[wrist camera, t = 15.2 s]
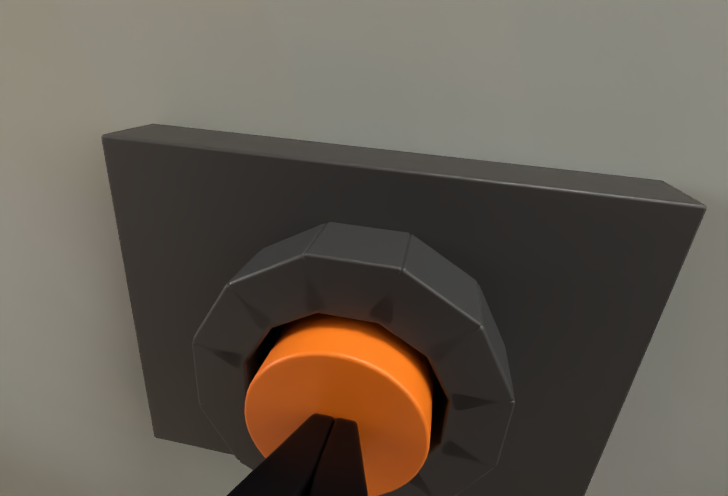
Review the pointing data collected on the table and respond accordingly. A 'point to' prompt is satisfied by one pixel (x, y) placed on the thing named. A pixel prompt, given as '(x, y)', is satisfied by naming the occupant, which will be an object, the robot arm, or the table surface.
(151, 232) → the pad
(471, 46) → the table surface
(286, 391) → the button
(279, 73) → the table surface
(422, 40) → the table surface
